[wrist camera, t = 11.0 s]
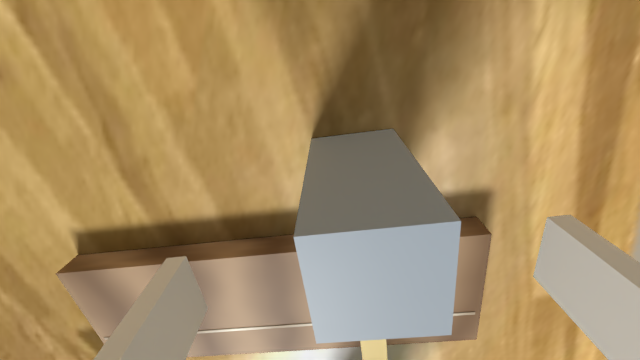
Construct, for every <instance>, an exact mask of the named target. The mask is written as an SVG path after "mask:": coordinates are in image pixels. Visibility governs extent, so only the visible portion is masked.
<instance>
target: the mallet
mask: <svg viewBox="0 0 640 360" xmlns="http://www.w3.org/2000/svg"><path fill="white" fill-rule="evenodd" d="M460 230H461V220H460V219H459V217H458V216H457V215H456V213H455V212H454V210H453V209H452V208H451V206H450V205H449V204H448V202H447V201H446V200H445V198H444V197H443V196H442V194H441V193H440V191H439V190H438V189H437V187H436V186H435V185H434V183H433V182H432V181H431V179H430V178H429V177H428V175H427V174H426V173H425V171H424V170H423V168H422V167H421V166H420V164H419V163H418V162H417V160H416V159H415V158H414V156H413V155H412V154H411V152H410V151H409V149H408V148H407V147H406V145H405V144H404V143H403V141H402V140H401V139H400V137H399V136H398V135H397V133H396V132H395V131H394V129H385V130H377V131H369V132H361V133H353V134H345V135H337V136H329V137H321V138H313V139H311V144H310V149H309V155H308V160H307V166H306V171H305V176H304V182H303V187H302V193H301V198H300V204H299V209H298V215H297V220H296V226H295V231H294V242H295V246H296V251H297V256H298V260H299V265H300V270H301V274H302V279H303V284H304V288H305V293H306V298H307V302H308V307H309V312H310V316H311V321H312V326H313V330H314V335H315V340H316V344H318V343H334V342H350V341H360V343H361V352H362V360H387V343H386V339H397V338H413V337H428V336H444V335H452V323H453V311H454V300H455V288H456V276H457V265H458V253H459V241H460Z"/></svg>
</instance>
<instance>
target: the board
mask: <svg viewBox="0 0 640 360" xmlns="http://www.w3.org/2000/svg"><path fill="white" fill-rule="evenodd" d="M460 220H461V230H460V241H459V253H458V265H457V276H456V288H455V300H454V311H453V323H452V335H444V336H428V337H413V338H397V339H386V343H387V345H394V344H410V343H426V342H442V341H458V340H475V339H477V333H478V326H479V319H480V312H481V304H482V297H483V290H484V283H485V276H486V269H487V262H488V255H489V248H490V241H491V233H490V232H489V231H488V229H487V228H486V227H485V226H484V225H483V224H482V222H481V221H480V220H479V219H478V218H477V217H470V218H460ZM182 256H186V257H187V260H188V262H189V264H190V267H191V269H192V271H193V274H194V276H195V278H196V281H197V283H198V286H199V288H200V290H201V293H202V295H203V297H204V300H205V302H206V304H207V307H208V309H207V311H206V313H205V316H204V318H203V320H202V323H201V325H200V327H199V330H198V332H197V334H196V336H195V339H194V341H193V343H192V346H191V348H190V350H189V353H188V355H187V357H199V356H216V355H232V354H248V353H264V352H280V351H297V350H313V349H329V348H345V347H361V343H360V341H350V342H334V343H318V344H316V340H315V335H314V330H313V326H312V321H311V316H310V312H309V307H308V302H307V298H306V293H305V288H304V284H303V279H302V274H301V270H300V265H299V260H298V256H297V251H296V246H295V242H294V234H293V235H283V236H272V237H262V238H251V239H241V240H231V241H220V242H210V243H199V244H189V245H178V246H168V247H158V248H147V249H137V250H126V251H116V252H106V253H95V254H85V255H77V256H76V257H75V258H74V259H73V260H71V261H70V262H69V263H68V264H67V265H66V266H64V267H63V268H62V269H61V270H60V271H58V272H57V273H56V275H57V276H58V278H59V279H60V281H61V282H62V284H63V285H64V286H65V288H66V289H67V291H68V292H69V294H70V295H71V297H72V298H73V299H74V301H75V302H76V304H77V305H78V307H79V308H80V310H81V311H82V313H83V314H84V315H85V317H86V318H87V320H88V321H89V323H90V324H91V326H92V327H93V328H94V330H95V331H96V333H97V334H98V336H99V337H100V339H101V340H102V341H103V343H104V344H105V343H106V341H107V340H108V339H109V337H110V336H111V335H112V333H113V332H114V330H115V329H116V328H117V326H118V325H119V323H120V322H121V321H122V319H123V318H124V317H125V315H126V314H127V312H128V311H129V310H130V308H131V307H132V305H133V304H134V303H135V301H136V300H137V299H138V297H139V296H140V294H141V293H142V292H143V290H144V289H145V287H146V286H147V285H148V283H149V282H150V280H151V279H152V278H153V276H154V275H155V274H156V272H157V271H158V269H159V268H160V267H161V265H162V264H163V262H164V261H165V260H166V258H173V257H182Z"/></svg>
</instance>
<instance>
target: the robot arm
mask: <svg viewBox="0 0 640 360" xmlns="http://www.w3.org/2000/svg"><path fill="white" fill-rule="evenodd" d="M533 277H534V278H535V279H536V280H537V281H538V283H539V284H540V285H541V286H542V287H543V288H544V289H545V290H546V291H547V292H548V294H549V295H550V296H551V297H552V298H553V299H554V300H555V301H556V302H557V304H558V305H559V306H560V307H561V308H562V309H563V310H564V311H565V312H566V313H567V315H568V316H569V317H570V318H571V319H572V320H573V321H574V322H575V323H576V325H577V326H578V327H579V328H580V329H581V330H582V331H583V332H584V333H585V334H586V336H587V337H588V338H589V339H590V340H591V341H592V342H593V343H594V344H595V345H596V347H597V348H598V349H599V350H600V351H601V352H602V353H603V354H604V355H605V357H606V358H607V359H608V360H640V263H639V262H638V261H636V260H635V259H633V258H632V257H631V256H629V255H628V254H626V253H625V252H623V251H622V250H620V249H619V248H618V247H616V246H615V245H613V244H612V243H610V242H609V241H607V240H606V239H604V238H603V237H602V236H600V235H599V234H597V233H596V232H594V231H593V230H591V229H590V228H589V227H587V226H586V225H584V224H583V223H581V222H580V221H578V220H577V219H576V218H574V217H573V216H571V215H563V216H553V217H547V220H546V224H545V229H544V233H543V237H542V241H541V246H540V250H539V254H538V258H537V263H536V267H535V271H534V275H533ZM207 309H208V307H207V304H206V302H205V300H204V297H203V295H202V293H201V290H200V288H199V286H198V283H197V281H196V278H195V276H194V274H193V271H192V269H191V267H190V264H189V262H188V260H187V257H186V256H182V257H173V258H166V260H165V261H164V262H163V264H162V265H161V267H160V268H159V269H158V271H157V272H156V274H155V275H154V276H153V278H152V279H151V280H150V282H149V283H148V285H147V286H146V287H145V289H144V290H143V292H142V293H141V294H140V296H139V297H138V299H137V300H136V301H135V303H134V304H133V305H132V307H131V308H130V310H129V311H128V312H127V314H126V315H125V317H124V318H123V319H122V321H121V322H120V323H119V325H118V326H117V328H116V329H115V330H114V332H113V333H112V335H111V336H110V337H109V339H108V340H107V341H106V343H105V344H104V346H103V347H102V348H101V350H100V351H99V353H98V354H97V355H96V357H95V358H94V359H93V360H186V357H187V355H188V353H189V350H190V348H191V346H192V343H193V341H194V339H195V336H196V334H197V332H198V330H199V327H200V325H201V323H202V320H203V318H204V316H205V313H206V311H207Z"/></svg>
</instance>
